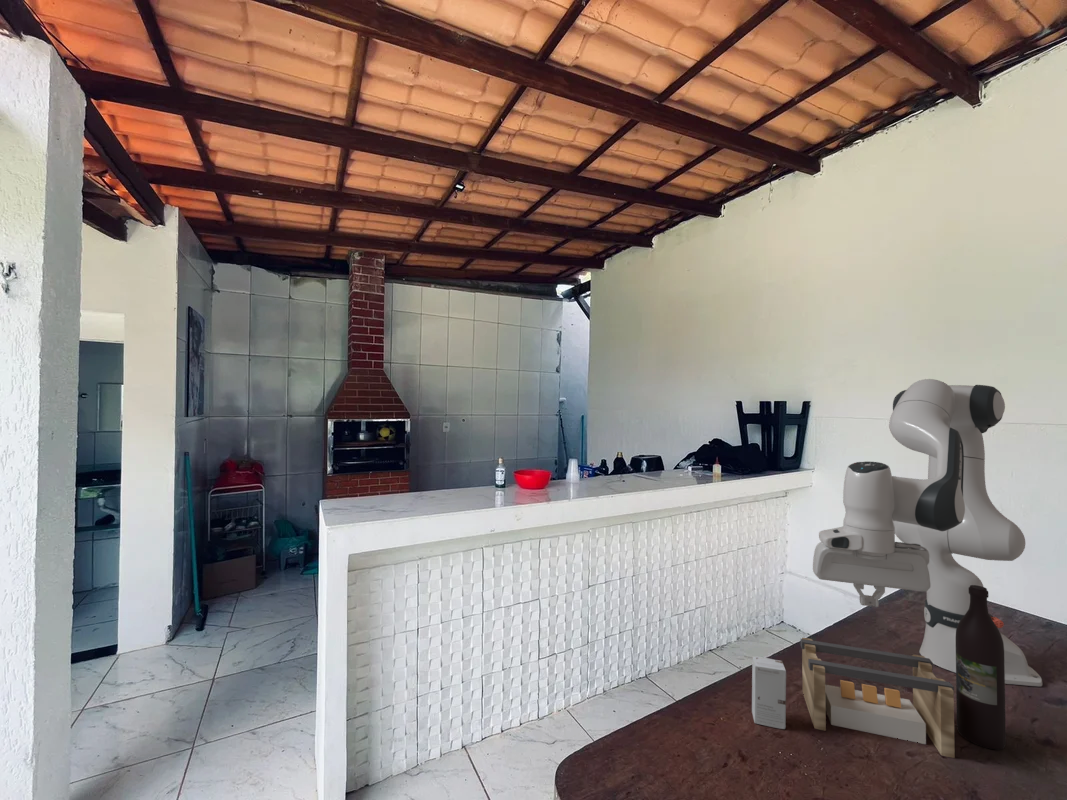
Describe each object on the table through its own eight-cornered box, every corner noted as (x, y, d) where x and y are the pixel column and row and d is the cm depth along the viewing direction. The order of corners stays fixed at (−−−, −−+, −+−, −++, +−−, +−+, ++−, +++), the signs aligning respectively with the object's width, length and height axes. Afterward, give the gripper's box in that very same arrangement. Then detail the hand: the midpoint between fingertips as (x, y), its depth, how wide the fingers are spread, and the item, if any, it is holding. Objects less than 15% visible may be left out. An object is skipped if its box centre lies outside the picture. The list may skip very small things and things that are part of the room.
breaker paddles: (899, 706, 96) (897, 690, 97) (901, 707, 95) (899, 691, 96) (840, 695, 100) (839, 679, 101) (842, 696, 99) (840, 681, 100)
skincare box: (754, 724, 97) (753, 666, 97) (751, 710, 101) (750, 655, 101) (787, 730, 95) (786, 671, 95) (782, 716, 99) (782, 659, 99)
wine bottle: (947, 725, 96) (945, 580, 97) (982, 726, 96) (980, 580, 97) (978, 750, 89) (976, 594, 90) (1016, 751, 89) (1014, 594, 90)
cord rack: (924, 715, 100) (923, 656, 100) (954, 758, 87) (953, 690, 88) (802, 692, 108) (802, 637, 108) (814, 728, 96) (813, 666, 96)
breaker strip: (909, 718, 99) (909, 699, 99) (925, 744, 91) (925, 723, 91) (822, 701, 104) (822, 683, 104) (831, 724, 97) (831, 705, 97)
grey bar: (949, 690, 90) (949, 682, 90) (953, 695, 89) (953, 686, 89) (808, 666, 99) (808, 658, 99) (809, 670, 97) (809, 662, 97)
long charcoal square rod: (929, 666, 98) (929, 658, 98) (932, 670, 97) (932, 662, 97) (800, 645, 107) (800, 638, 107) (801, 649, 105) (801, 642, 105)
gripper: (922, 540, 97) (923, 607, 97) (810, 531, 105) (811, 592, 104) (936, 549, 92) (937, 619, 91) (817, 538, 99) (817, 603, 98)
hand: (868, 605), depth 98 cm, fingers closed
